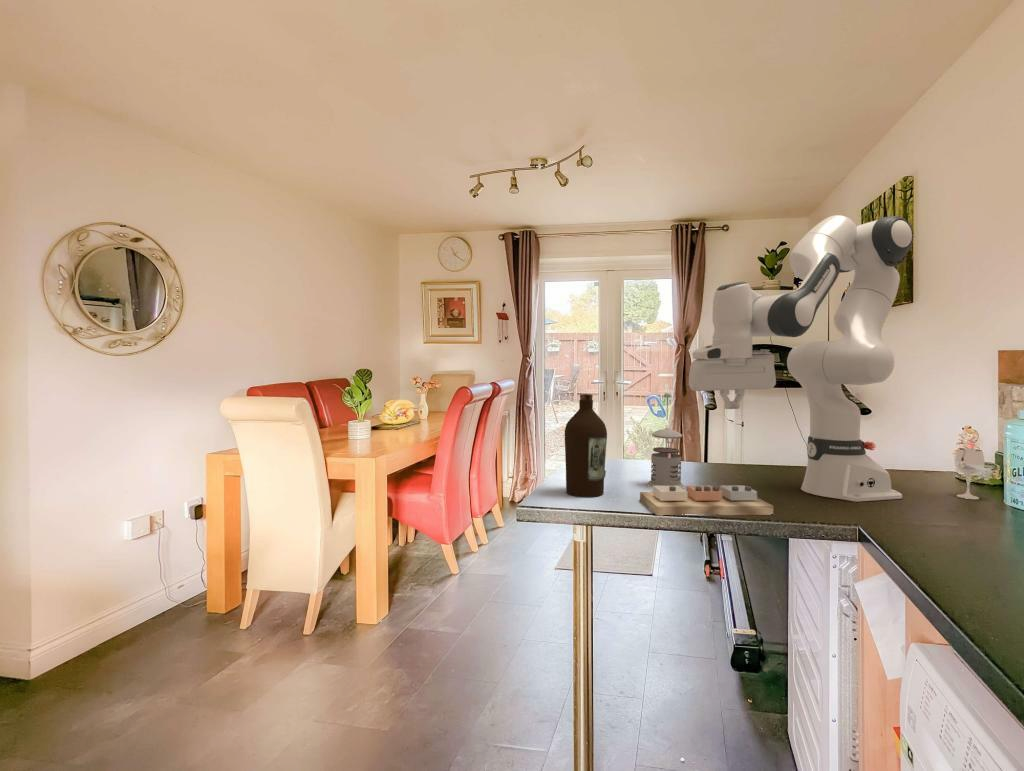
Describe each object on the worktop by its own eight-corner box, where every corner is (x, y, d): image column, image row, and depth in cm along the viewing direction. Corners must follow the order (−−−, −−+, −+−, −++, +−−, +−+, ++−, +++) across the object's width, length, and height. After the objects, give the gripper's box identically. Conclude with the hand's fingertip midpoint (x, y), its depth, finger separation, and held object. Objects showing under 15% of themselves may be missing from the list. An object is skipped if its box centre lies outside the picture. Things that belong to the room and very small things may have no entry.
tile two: (744, 493, 131) (744, 482, 131) (756, 500, 125) (757, 488, 125) (719, 493, 131) (719, 482, 131) (730, 500, 125) (731, 488, 125)
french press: (642, 486, 148) (644, 393, 147) (653, 478, 158) (655, 390, 157) (680, 491, 143) (683, 394, 142) (689, 482, 154) (691, 392, 152)
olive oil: (555, 492, 141) (556, 394, 140) (581, 486, 148) (583, 392, 147) (588, 500, 133) (589, 396, 132) (614, 493, 141) (616, 394, 139)
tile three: (711, 493, 131) (711, 482, 131) (722, 500, 125) (722, 488, 125) (686, 493, 131) (686, 482, 131) (696, 500, 125) (696, 488, 125)
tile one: (677, 493, 131) (678, 482, 130) (687, 500, 125) (687, 488, 125) (652, 494, 130) (653, 482, 130) (660, 500, 124) (661, 488, 124)
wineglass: (983, 497, 140) (985, 449, 139) (981, 501, 136) (984, 452, 135) (954, 493, 144) (956, 447, 143) (952, 497, 140) (954, 449, 139)
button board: (745, 499, 135) (745, 491, 135) (773, 514, 122) (773, 505, 122) (639, 500, 134) (640, 492, 134) (656, 515, 121) (656, 506, 121)
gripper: (767, 349, 136) (766, 405, 137) (685, 352, 135) (686, 408, 136) (781, 349, 130) (781, 408, 131) (696, 352, 129) (696, 411, 130)
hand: (732, 408), depth 134 cm, fingers closed
